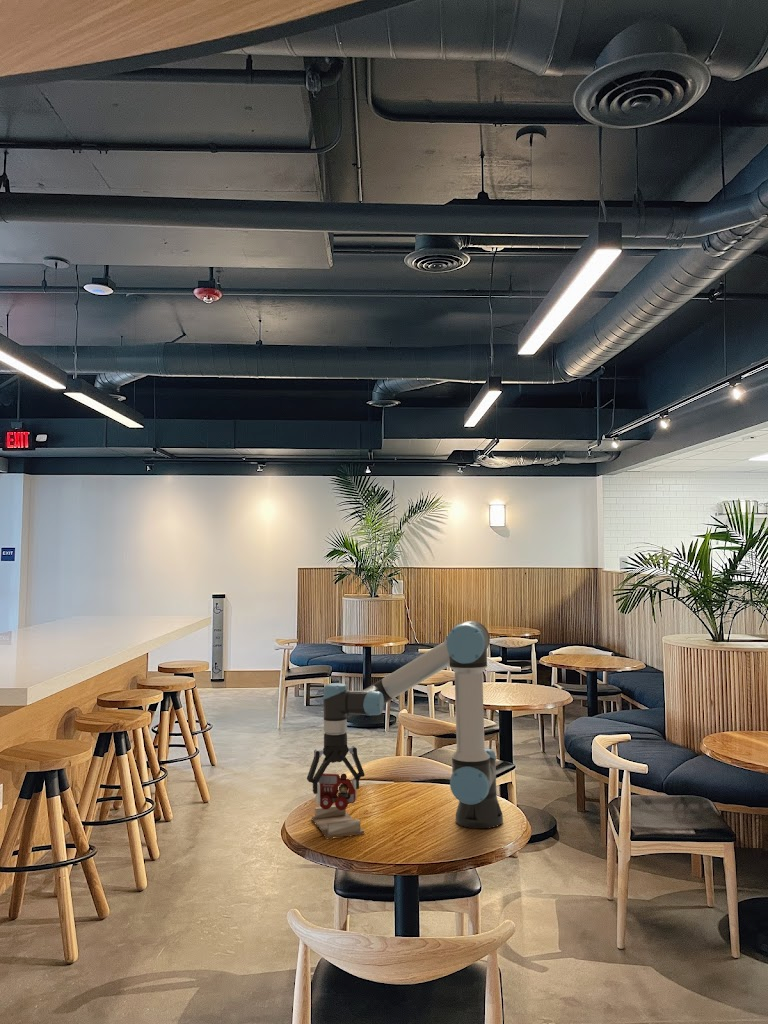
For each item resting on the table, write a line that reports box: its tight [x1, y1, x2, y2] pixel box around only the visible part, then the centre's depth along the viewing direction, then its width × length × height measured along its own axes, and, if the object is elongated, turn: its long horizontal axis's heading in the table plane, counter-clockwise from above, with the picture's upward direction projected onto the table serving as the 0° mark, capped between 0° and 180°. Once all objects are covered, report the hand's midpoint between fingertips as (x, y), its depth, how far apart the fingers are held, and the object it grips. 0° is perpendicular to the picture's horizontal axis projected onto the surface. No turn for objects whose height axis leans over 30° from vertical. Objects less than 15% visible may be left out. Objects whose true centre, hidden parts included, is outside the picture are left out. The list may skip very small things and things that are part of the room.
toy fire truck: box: [318, 772, 356, 810], centre depth 246 cm, size 7×12×10 cm, turn 80°
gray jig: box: [311, 804, 365, 839], centre depth 245 cm, size 20×12×4 cm, turn 19°
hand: (336, 801), depth 246 cm, fingers closed on toy fire truck, 11 cm apart
